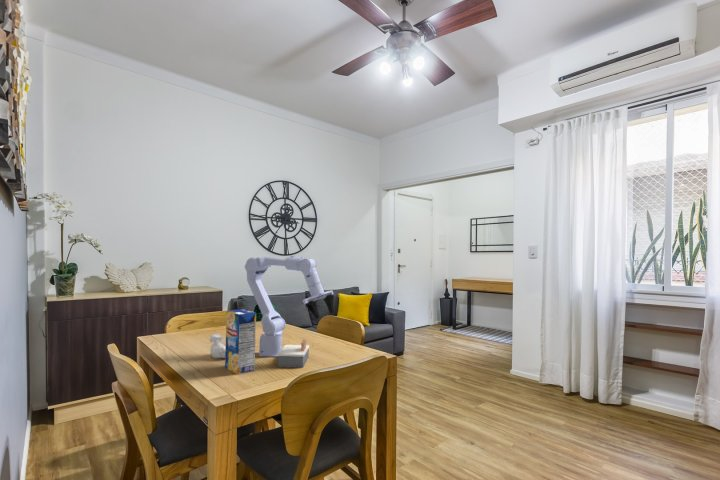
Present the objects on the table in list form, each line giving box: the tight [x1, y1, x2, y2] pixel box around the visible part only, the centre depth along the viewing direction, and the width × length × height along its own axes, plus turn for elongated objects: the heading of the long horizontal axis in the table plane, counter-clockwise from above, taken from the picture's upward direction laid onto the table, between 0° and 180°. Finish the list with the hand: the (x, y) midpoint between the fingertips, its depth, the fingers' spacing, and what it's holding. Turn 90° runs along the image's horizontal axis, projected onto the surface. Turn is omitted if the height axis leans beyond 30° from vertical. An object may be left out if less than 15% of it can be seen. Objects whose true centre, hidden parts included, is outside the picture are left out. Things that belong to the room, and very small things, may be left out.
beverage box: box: [224, 308, 257, 375], centre depth 139 cm, size 7×11×22 cm, turn 44°
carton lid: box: [277, 339, 310, 357], centre depth 149 cm, size 10×14×4 cm
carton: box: [277, 347, 310, 369], centre depth 149 cm, size 10×14×4 cm
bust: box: [209, 333, 226, 359], centre depth 153 cm, size 12×8×11 cm
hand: (325, 315), depth 151 cm, fingers open, 7 cm apart
